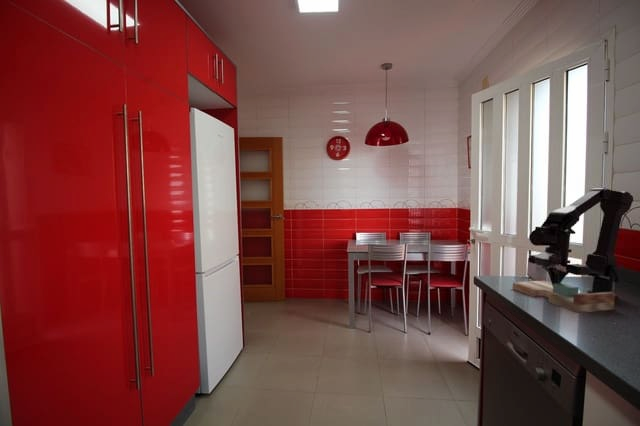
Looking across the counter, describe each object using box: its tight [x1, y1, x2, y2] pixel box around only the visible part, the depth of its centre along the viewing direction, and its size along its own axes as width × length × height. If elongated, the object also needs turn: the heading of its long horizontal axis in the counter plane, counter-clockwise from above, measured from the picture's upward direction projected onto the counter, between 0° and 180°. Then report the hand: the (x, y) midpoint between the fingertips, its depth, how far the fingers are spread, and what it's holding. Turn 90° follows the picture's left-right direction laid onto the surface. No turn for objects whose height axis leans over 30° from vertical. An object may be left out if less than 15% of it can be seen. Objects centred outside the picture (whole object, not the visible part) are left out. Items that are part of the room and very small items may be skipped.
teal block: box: [553, 282, 580, 296], centre depth 107 cm, size 5×5×3 cm
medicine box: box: [526, 257, 548, 281], centre depth 134 cm, size 8×4×9 cm, turn 168°
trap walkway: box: [511, 280, 616, 314], centre depth 109 cm, size 16×24×6 cm, turn 14°
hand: (554, 287), depth 111 cm, fingers closed
